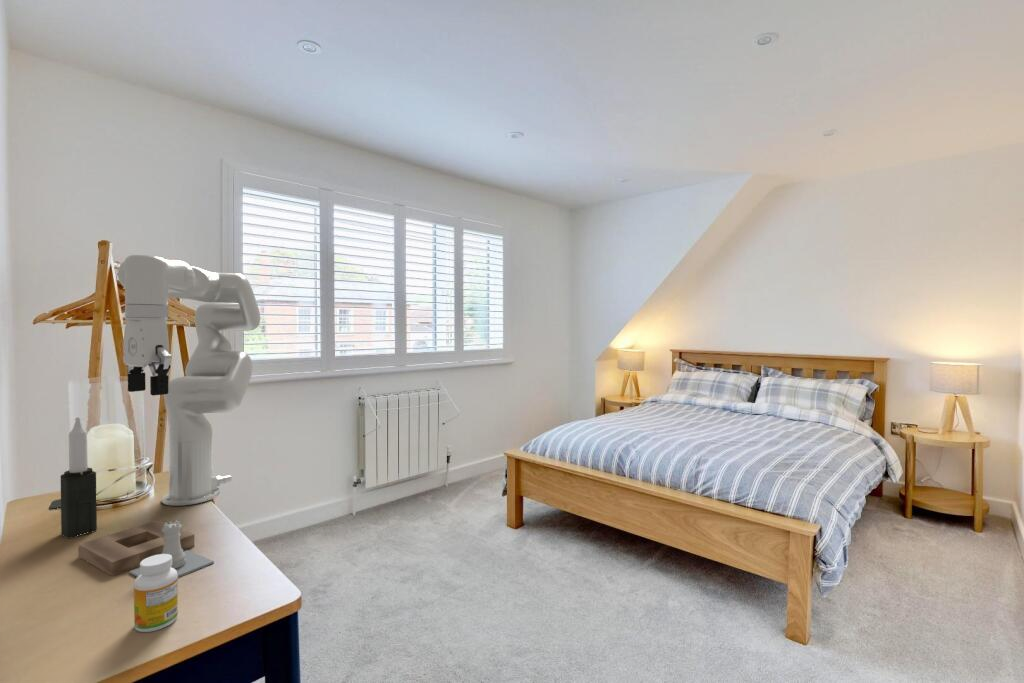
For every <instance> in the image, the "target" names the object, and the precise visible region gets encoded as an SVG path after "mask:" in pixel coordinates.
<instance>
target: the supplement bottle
mask: <svg viewBox="0 0 1024 683" xmlns="http://www.w3.org/2000/svg"><path fill="white" fill-rule="evenodd" d="M171 566H172V556H171V555H170V554H158V555H154V556H151V557H148V558H146V559H144V560H142V561H141V562H140V566H139V568H140V574H141V575H139V576H138V577H136V578H135V580H134V583H133V599H134V600H133V604H134V605H133V606H134V607H133V609H134V610H133V611H134V612H133V613H134V614H133V616H134V621H133V622H134V629H135V630H136V631H137V632H140V633H151V632H152V633H153V632H155V631H159V630H162V629H165V628H166V627H168V626H170V625H172V624H173V623H174V622H175V621H176V620H177V618H178V615H179V600H178V599H179V597H178V596H179V595H178V594H179V592H178V591H179V588H178V587H179V584H178V582H179V581H178V580H179V579H178V578H179V577H178V575H177V571H176V570H175V569H174V568H171Z"/></svg>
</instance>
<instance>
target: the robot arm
mask: <svg viewBox="0 0 1024 683" xmlns="http://www.w3.org/2000/svg"><path fill="white" fill-rule="evenodd" d="M117 278H118V281H119V283H120V285H121V286H122V287H123V288H124V319H125V327H124V332H123V333H124V334H123V346H122V349H123V350H122V362H123V364H124V365H125V366H126V367H127V368H126V373H127V391H128V392H129V393H130V392H131V393H134V392H144V391H146V372H144V370H145V368H146V367H147V366H148V368H149V370H150V373H151V374H152V376H149V377H150V378H149V381H150V382H149V383H150V384H149V385H150V386H149V387H150V390H149V391H150V395H151V396H162V395H163V400H164V402H163V403H164V406H165V410H166V414H167V422H168V480H169V481H168V482H169V483H168V486H169V487H168V488H169V490H168V492H167V493H165V494H164V495H163V496H162V497H161V503H162V504H164V505H166V506H173V507H174V506H179V507H180V506H191V505H196V504H201V503H206V502H208V501H210V500H213V499H215V498H217V497H218V496H219V495H220V491H221V489H220V488H219V487H220V485H221V484H227V483H230V482H232V475H231V474H226V475H224V476H221V475H216V476H215V475H214V474H213V473H214V470H213V464H214V463H213V462H214V460H213V459H214V458H213V456H214V454H213V451H214V449H213V447H214V446H213V444H214V443H213V439H214V438H213V437H214V436H213V427H212V424H211V423H210V421H209V419H208V418H207V416H205V414H218V413H219V414H223V413H232V412H235V411H236V410H237V409H239V407H240V405H241V403H242V401H243V399H244V395H245V393H246V391H247V388H248V386H249V383H250V381H251V378H252V375H253V374H252V373H253V362H252V358H251V357H250V356H249V354H248V353H246V352H244V351H240V350H232V348H233V347H232V344H231V343H230V340H228V339H227V337H226V336H224V335H223V334H222V333H221V331H223V332H224V331H225V332H228V331H229V332H231V331H232V332H233V331H234V332H237V331H238V332H248V331H250V332H251V331H254V330H256V329H258V327H259V326H260V323H261V312H260V308H259V306H258V303H257V299H256V296H255V293H254V290H253V288H252V285H251V284H250V281H249V280H248V278H247V277H246V276H245V275H243V274H242V273H235V272H213V271H209V270H205V269H202V268H200V267H197V266H190V264H188V263H187V262H186V261H183V260H177V259H165V258H163V257H160V256H155V255H148V254H133V255H128V256H127V257H126V258H125V260H123V262H121V263H120V265H119V267H118V269H117ZM169 298H175V299H182V300H184V299H185V300H193V301H198V302H203V303H202V304H200V305H199V306H198V307H197V308H196V310H195V313H194V325H195V332H196V336H197V340H198V343H197V346H196V347H195V349H194V351H193V352H192V355H190V356H191V357H190V358H189V360H188V362H187V364H186V366H185V371H184V374H185V376H180V377H176V378H173V379H171V380H169V375H170V369H171V363H172V362H171V361H172V354H170V342H169V331H168V324H167V321H169ZM204 496H205V497H204ZM207 499H208V500H207Z"/></svg>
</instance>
